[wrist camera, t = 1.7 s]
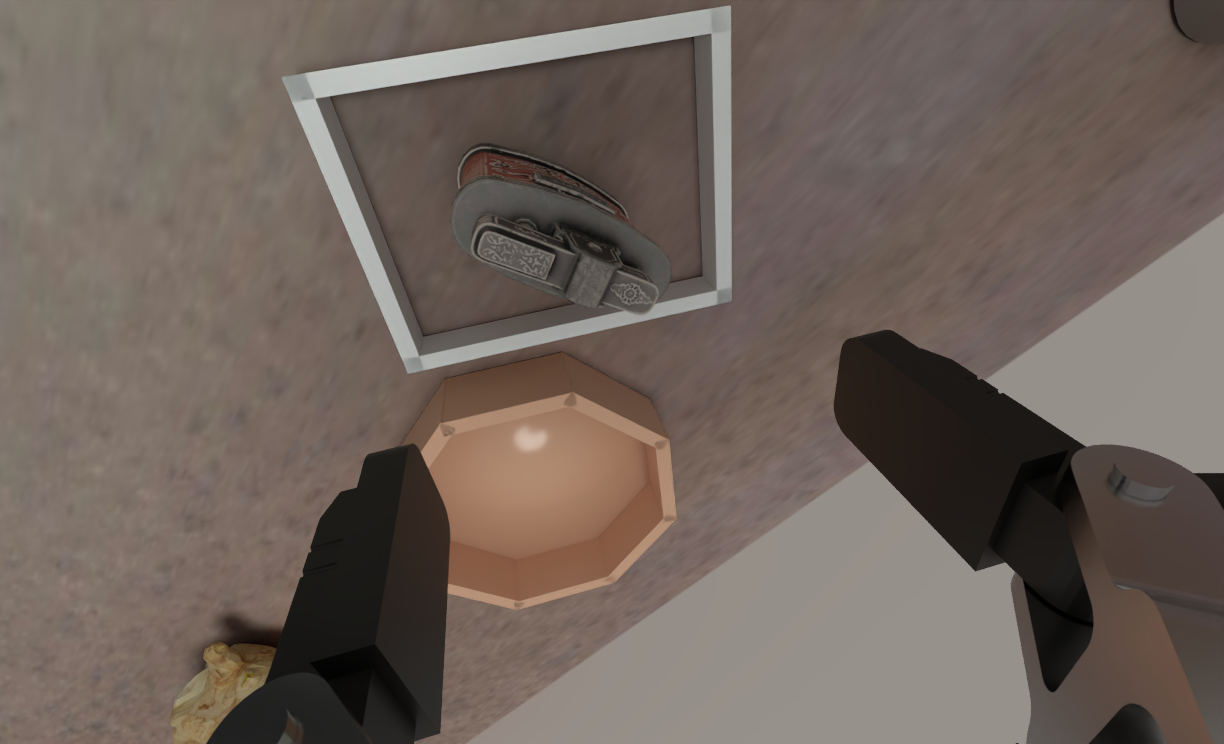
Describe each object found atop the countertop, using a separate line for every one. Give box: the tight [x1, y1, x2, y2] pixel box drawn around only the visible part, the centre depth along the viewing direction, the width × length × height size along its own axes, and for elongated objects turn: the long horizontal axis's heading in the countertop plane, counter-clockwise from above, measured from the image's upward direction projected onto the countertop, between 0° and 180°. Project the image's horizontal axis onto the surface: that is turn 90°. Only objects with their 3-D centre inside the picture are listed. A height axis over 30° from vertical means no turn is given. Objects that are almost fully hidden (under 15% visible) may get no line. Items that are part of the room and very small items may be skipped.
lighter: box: [450, 144, 671, 315], centre depth 20 cm, size 8×3×10 cm, turn 65°
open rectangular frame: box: [282, 5, 732, 374], centre depth 23 cm, size 17×13×2 cm
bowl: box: [401, 352, 677, 610], centre depth 31 cm, size 16×16×4 cm
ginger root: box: [170, 641, 277, 744], centre depth 35 cm, size 16×16×8 cm
